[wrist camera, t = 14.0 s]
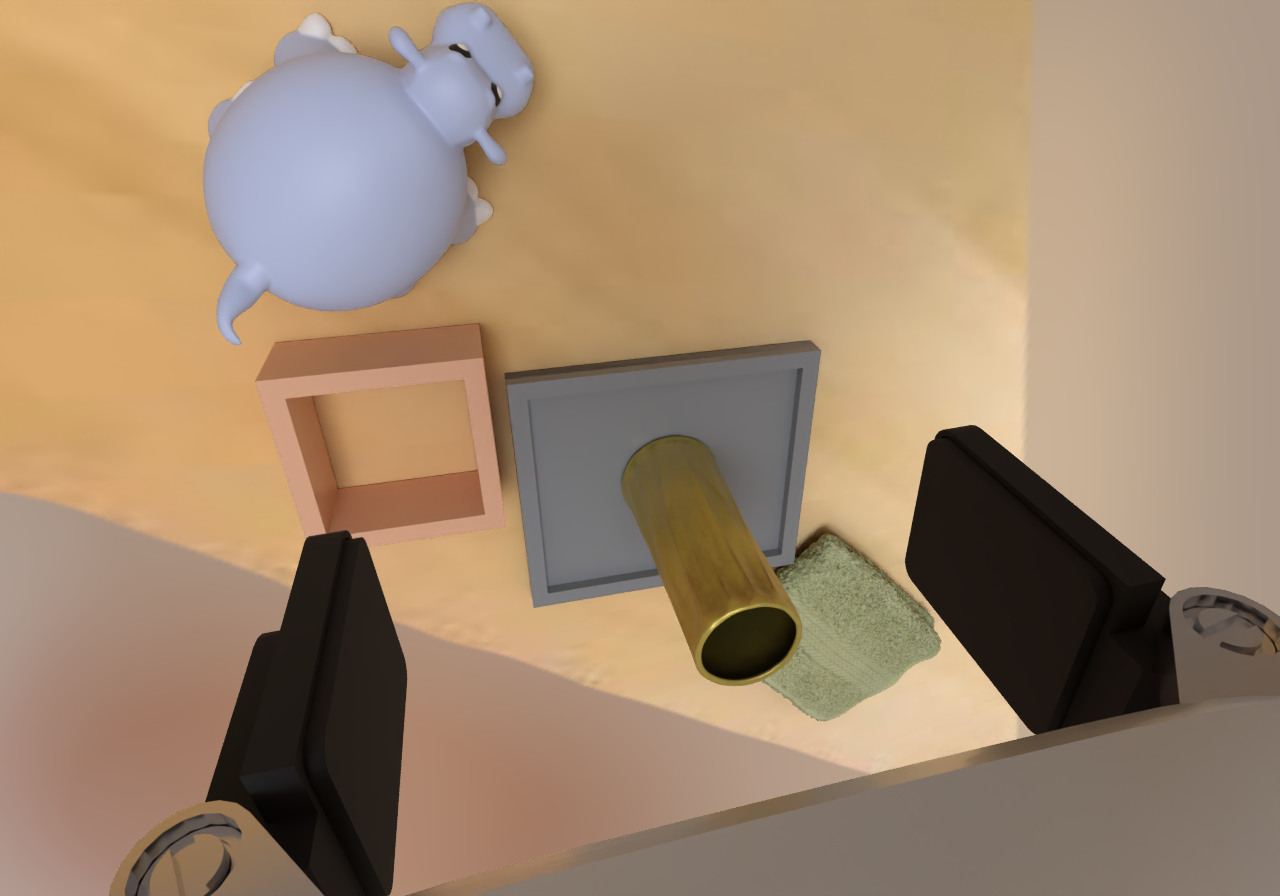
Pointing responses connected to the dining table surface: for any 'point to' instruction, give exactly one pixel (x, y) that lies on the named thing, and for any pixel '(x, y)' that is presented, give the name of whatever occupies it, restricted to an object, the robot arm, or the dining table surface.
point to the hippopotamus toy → (356, 161)
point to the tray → (632, 418)
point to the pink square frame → (377, 365)
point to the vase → (710, 563)
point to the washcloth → (848, 630)
